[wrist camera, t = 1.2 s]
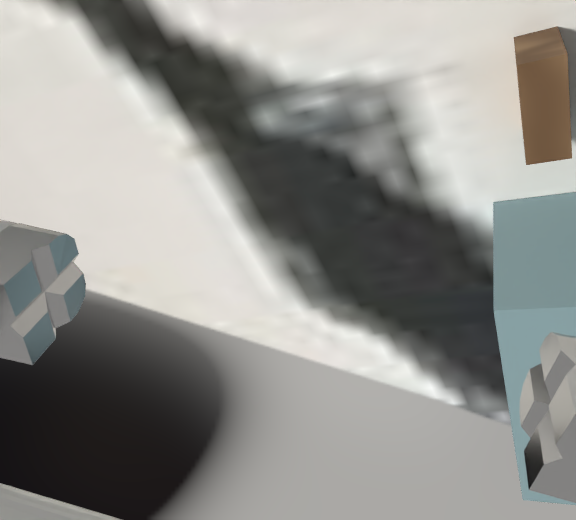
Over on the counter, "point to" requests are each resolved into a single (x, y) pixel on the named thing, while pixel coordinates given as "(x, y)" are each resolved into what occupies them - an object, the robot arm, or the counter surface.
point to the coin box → (532, 295)
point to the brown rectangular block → (544, 95)
